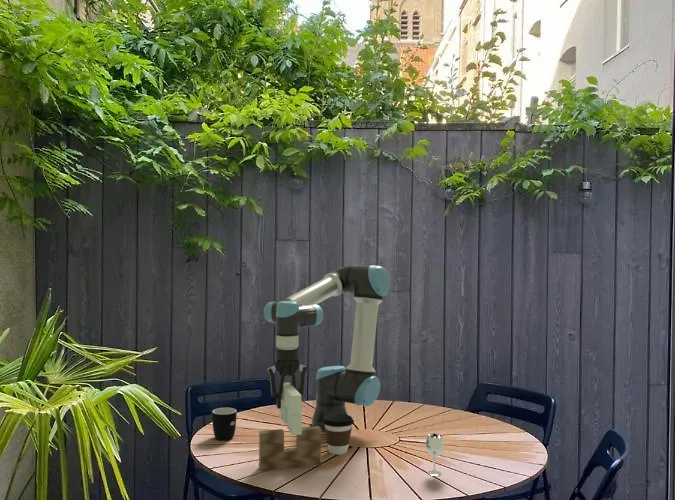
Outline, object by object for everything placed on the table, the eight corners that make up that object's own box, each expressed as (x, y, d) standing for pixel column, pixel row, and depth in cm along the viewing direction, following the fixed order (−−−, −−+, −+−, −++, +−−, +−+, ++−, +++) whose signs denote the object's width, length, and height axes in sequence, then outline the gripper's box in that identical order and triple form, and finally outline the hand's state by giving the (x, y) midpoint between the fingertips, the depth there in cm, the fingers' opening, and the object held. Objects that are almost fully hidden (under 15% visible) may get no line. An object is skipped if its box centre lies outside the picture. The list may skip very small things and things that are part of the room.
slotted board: (318, 461, 204) (318, 426, 204) (320, 464, 201) (321, 428, 201) (259, 467, 198) (259, 430, 198) (260, 471, 195) (260, 433, 195)
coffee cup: (357, 448, 217) (357, 415, 217) (348, 458, 207) (348, 423, 207) (328, 445, 221) (328, 412, 221) (317, 455, 210) (318, 420, 210)
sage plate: (288, 416, 210) (288, 381, 209) (301, 434, 190) (302, 396, 190) (280, 417, 209) (280, 382, 208) (292, 435, 189) (292, 396, 189)
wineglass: (423, 470, 197) (423, 433, 197) (440, 469, 198) (441, 432, 198) (427, 476, 192) (427, 438, 191) (445, 476, 192) (445, 438, 192)
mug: (231, 442, 223) (231, 414, 223) (208, 441, 224) (208, 413, 224) (242, 432, 235) (242, 406, 234) (220, 431, 236) (220, 404, 236)
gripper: (308, 344, 210) (307, 412, 211) (261, 346, 206) (261, 416, 206) (313, 348, 203) (313, 418, 203) (265, 350, 199) (265, 422, 199)
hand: (287, 417), depth 205 cm, fingers closed on sage plate, 3 cm apart
